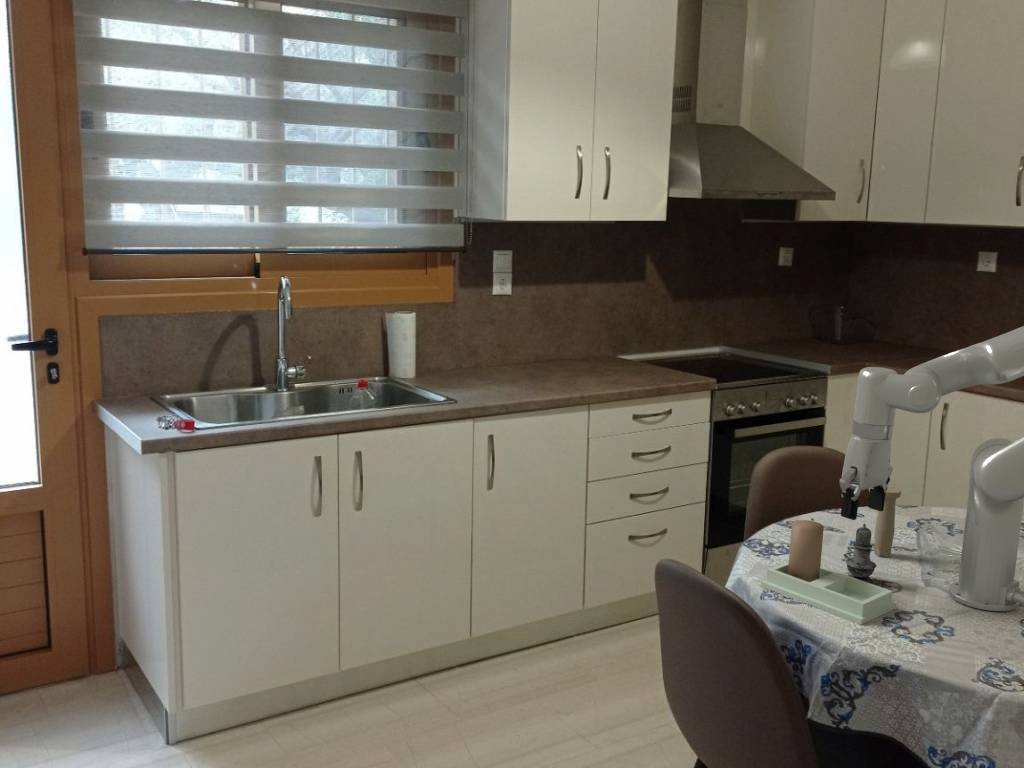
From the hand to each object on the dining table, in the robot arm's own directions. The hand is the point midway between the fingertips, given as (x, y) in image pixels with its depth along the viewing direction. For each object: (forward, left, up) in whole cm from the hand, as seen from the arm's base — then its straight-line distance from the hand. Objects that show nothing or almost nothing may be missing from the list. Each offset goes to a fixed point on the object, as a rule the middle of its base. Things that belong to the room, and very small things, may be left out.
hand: (862, 513), depth 198 cm
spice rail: (-2, +13, -14) cm, 19 cm away
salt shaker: (-1, 0, -14) cm, 14 cm away
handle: (+4, -17, -14) cm, 23 cm away
